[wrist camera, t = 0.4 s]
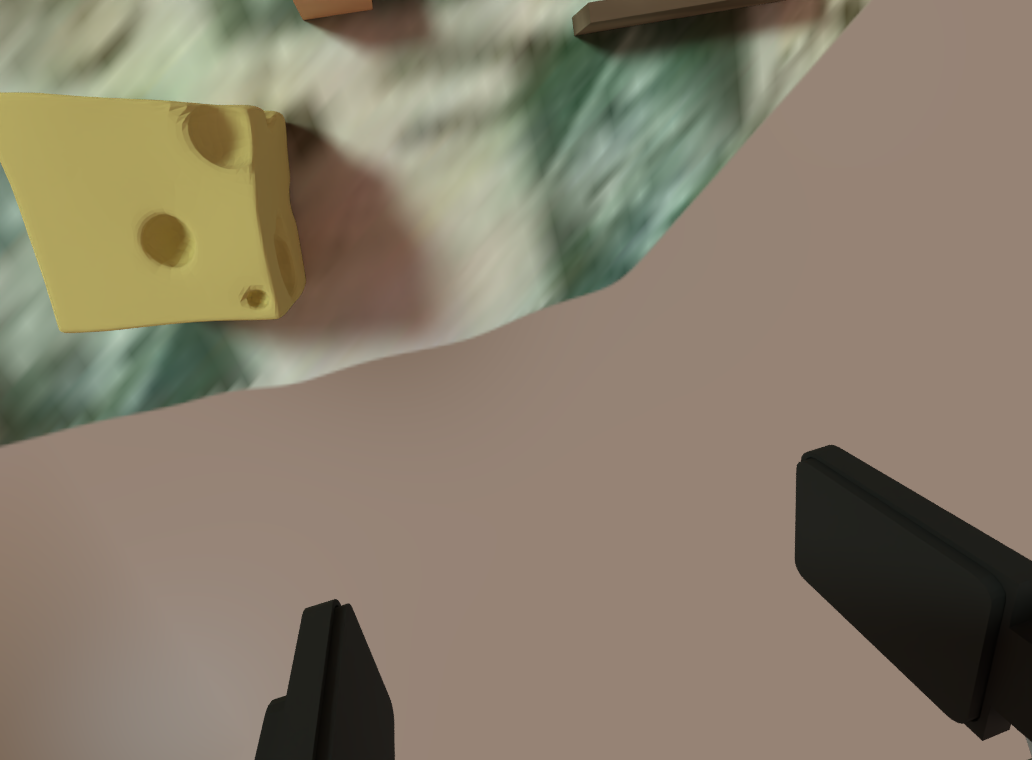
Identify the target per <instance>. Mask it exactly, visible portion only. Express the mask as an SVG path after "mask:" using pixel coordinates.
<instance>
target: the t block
mask: <svg viewBox="0 0 1032 760" xmlns="http://www.w3.org/2000/svg"><path fill="white" fill-rule="evenodd" d="M293 2H294V4H295V5H296V7H297V9H298V11H299V13H300V15H301V17H302V19H303V20H307V19H314V18H320V17H327V16H333V15H340V14H347V13H353V12H360V11H366V10H373V6H372V0H293Z"/></svg>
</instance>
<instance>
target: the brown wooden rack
mask: <svg viewBox="0 0 1032 760" xmlns="http://www.w3.org/2000/svg"><path fill="white" fill-rule="evenodd" d="M778 1H784V0H602V1H596V2H590V3H588V4H587V5H586V6H584V7H583V8H582V9H581V10H580V11H579V12H578V13H577V14H575V15H574V16H573V17H572V20H573V29H574V36H577V35H583V34H588V33H594V32H600V31H606V30H612V29H618V28H624V27H630V26H636V25H642V24H648V23H654V22H660V21H665V20H671V19H677V18H683V17H689V16H695V15H701V14H707V13H713V12H719V11H725V10H731V9H736V8H742V7H748V6H754V5H760V4H766V3H772V2H778Z"/></svg>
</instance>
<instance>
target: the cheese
mask: <svg viewBox="0 0 1032 760" xmlns="http://www.w3.org/2000/svg"><path fill="white" fill-rule="evenodd" d="M0 162H1V164H2V166H3V169H4V171H5V173H6V175H7V178H8V180H9V182H10V184H11V187H12V190H13V192H14V195H15V198H16V201H17V203H18V206H19V209H20V212H21V215H22V218H23V221H24V223H25V226H26V229H27V232H28V235H29V238H30V241H31V244H32V246H33V249H34V252H35V255H36V258H37V261H38V264H39V267H40V270H41V273H42V275H43V278H44V282H45V285H46V288H47V291H48V294H49V297H50V301H51V304H52V307H53V310H54V314H55V317H56V321H57V324H58V327H59V330H60V331H61V332H64V333H81V332H99V331H111V330H121V329H130V328H139V327H147V326H157V325H166V324H176V323H188V322H203V321H228V320H273V319H278V318H281V317H282V316H283V315H284V314H286V313H287V311H288V310H289V309H290V308H291V306H292V305H293V303H294V302H295V301H296V300H297V299H298V298H299V297H300V295H301V294H302V292H303V289H304V287H305V284H306V277H305V271H304V265H303V259H302V253H301V247H300V241H299V235H298V230H297V225H296V222H295V219H294V216H293V213H292V210H291V205H290V196H289V185H290V170H289V161H288V150H287V135H286V124H285V119H284V117H283V115H282V114H280V113H278V112H275V111H263V110H262V109H260V108H258V107H255V106H251V105H210V104H199V103H186V102H176V101H163V100H145V99H120V98H100V97H83V96H70V95H57V94H44V93H0Z"/></svg>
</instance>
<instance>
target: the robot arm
mask: <svg viewBox="0 0 1032 760" xmlns="http://www.w3.org/2000/svg"><path fill="white" fill-rule="evenodd" d="M795 524H796V526H795V564H796V567H797V569H798V571H799V573H800V575H801V576H802V577H803V578H804V579H805V580H806V581H807V582H808V583H809V584H810V585H811V586H812V587H813V588H814V589H815V590H816V591H817V592H818V593H819V594H820V595H821V596H822V597H823V598H824V599H826V600H827V601H828V602H829V603H830V604H831V605H832V606H833V607H834V608H835V609H836V610H837V611H838V612H839V613H840V614H841V615H842V616H843V617H844V618H845V619H846V620H847V621H848V622H850V623H851V624H852V625H853V626H854V627H855V628H856V629H857V630H858V631H859V632H860V633H861V634H862V635H863V636H864V637H865V638H866V639H867V640H869V642H871V643H872V644H873V645H874V646H875V647H876V648H877V649H878V650H879V651H880V652H881V653H882V654H883V655H884V656H885V657H886V658H887V659H888V660H889V661H890V662H892V663H893V664H894V665H895V666H896V667H897V668H898V669H899V670H900V671H901V672H902V673H903V674H904V675H905V676H906V677H907V678H908V679H909V680H910V681H911V682H912V683H914V684H915V686H917V687H918V688H919V689H920V690H921V691H922V692H923V693H924V694H925V695H926V696H927V697H928V698H929V699H930V700H931V701H932V702H933V703H934V704H935V705H936V706H938V707H939V708H940V709H941V710H942V711H943V712H944V713H945V714H946V715H947V716H948V717H949V718H951V719H952V720H954V721H956V722H957V723H961V724H963V723H964V724H965V725H966V726H967V727H968V728H969V729H971V731H972V732H974V733H975V734H976V735H977V736H978V737H979V738H980V739H981V740H982V741H983V740H986V739H988V738H991V737H993V736H995V735H998V734H1000V733H1003V732H1005V731H1007V730H1009V729H1010V726H1011V724H1012V725H1013V726H1014V727H1015V728H1016V729H1017V730H1018V731H1020V732H1021V733H1022V734H1023V735H1024V736H1025V737H1026V740H1027V743H1028V746H1029V750H1030V753H1031V756H1032V561H1031V560H1029V559H1028V558H1025V557H1024V556H1022V555H1020V554H1019V553H1017V552H1016V551H1014V550H1012V549H1010V548H1009V547H1007V546H1005V545H1003V544H1002V543H1000V542H999V541H997V540H995V539H994V538H992V537H990V536H989V535H987V534H985V533H983V532H982V531H980V530H978V529H977V528H975V527H973V526H971V525H970V524H968V523H966V522H965V521H963V520H961V519H960V518H958V517H956V516H955V515H953V514H951V513H949V512H948V511H946V510H944V509H943V508H941V507H939V506H938V505H936V504H934V503H932V502H931V501H929V500H927V499H926V498H924V497H922V496H921V495H919V494H917V493H916V492H914V491H912V490H911V489H909V488H907V487H905V486H904V485H902V484H900V483H899V482H897V481H895V480H894V479H892V478H890V477H888V476H887V475H885V474H883V473H882V472H880V471H878V470H876V469H875V468H873V467H871V466H870V465H868V464H866V463H865V462H863V461H861V460H860V459H858V458H856V457H855V456H853V455H851V454H849V453H848V452H846V451H844V450H843V449H841V448H839V447H837V446H834V445H828V446H825V447H821V448H818V449H815V450H812V451H809V452H806V453H804V454H803V456H802V458H801V462H799V463H798V464H797V471H796V522H795ZM295 650H296V651H295V655H294V660H293V665H292V670H291V675H290V680H289V685H288V690H287V695H286V696H283V697H280V698H277V699H274V700H272V701H271V703H270V704H269V705H268V708H267V710H266V713H265V717H264V721H263V725H262V730H261V734H260V739H259V743H258V747H257V751H256V756H255V760H395V751H394V749H395V748H394V714H393V708H392V703H391V700H390V697H389V695H388V692H387V690H386V688H385V685H384V683H383V681H382V678H381V676H380V673H379V671H378V668H377V666H376V664H375V661H374V659H373V657H372V654H371V652H370V649H369V647H368V644H367V642H366V640H365V637H364V635H363V633H362V630H361V628H360V625H359V623H358V620H357V618H356V616H355V613H354V611H353V608H352V606H351V605H350V604H345V605H342V606H341V604H340V602H339V601H338V600H337V599H334V600H331V601H328V602H324V603H321V604H318V605H315V606H312V607H308V608H306V609H305V610H304V611H303V614H302V619H301V624H300V630H299V634H298V640H297V645H296V649H295ZM1028 760H1032V758H1031V759H1028Z"/></svg>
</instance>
